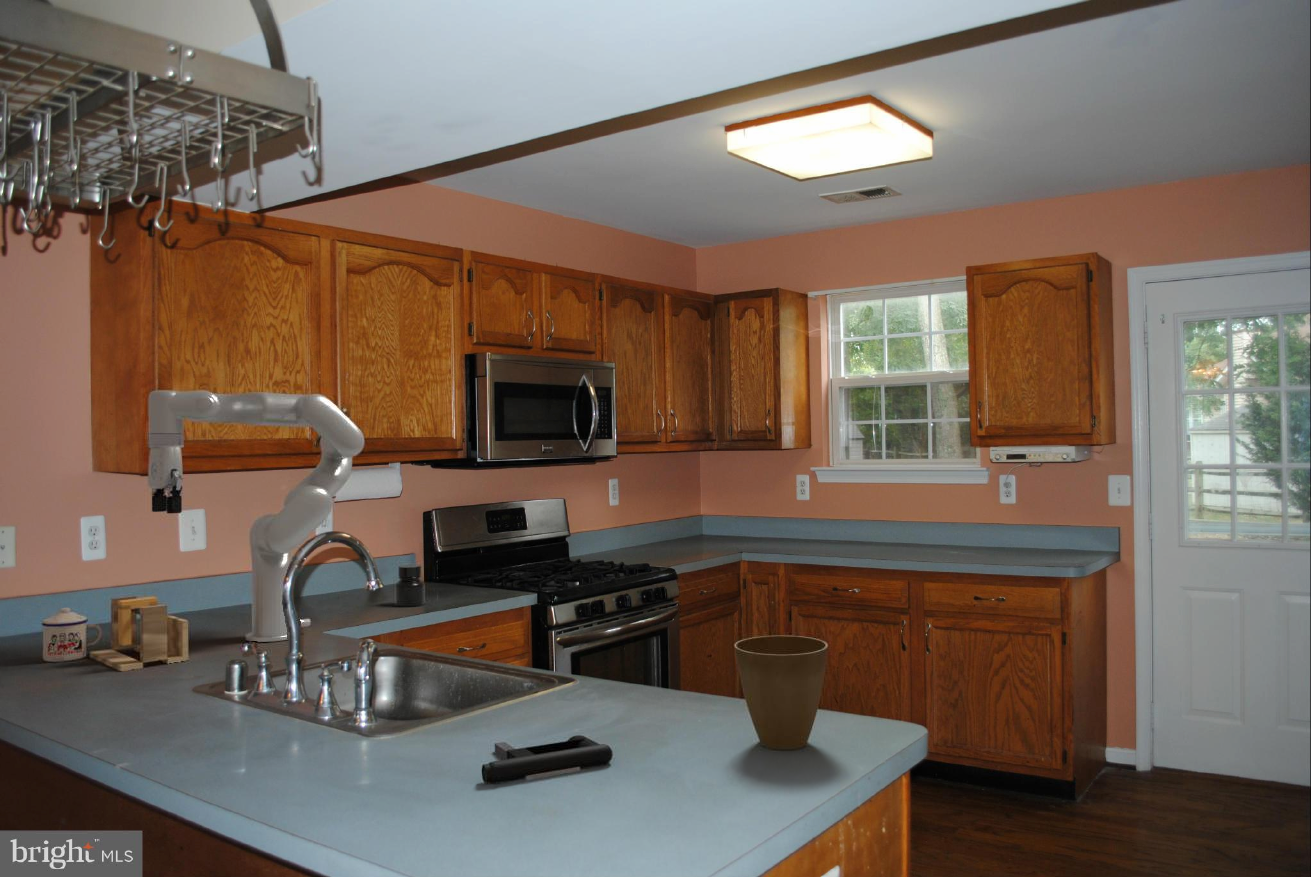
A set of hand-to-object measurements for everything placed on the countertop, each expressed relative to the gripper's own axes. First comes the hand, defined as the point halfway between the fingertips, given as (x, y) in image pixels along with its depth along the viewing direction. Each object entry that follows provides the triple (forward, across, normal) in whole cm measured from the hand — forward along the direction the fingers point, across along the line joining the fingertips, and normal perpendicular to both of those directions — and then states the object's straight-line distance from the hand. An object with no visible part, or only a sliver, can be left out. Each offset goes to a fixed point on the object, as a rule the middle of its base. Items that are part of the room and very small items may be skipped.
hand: (166, 512), depth 231 cm
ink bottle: (+34, -15, +76) cm, 84 cm away
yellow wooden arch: (+29, +5, -8) cm, 31 cm away
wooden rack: (+33, +5, -8) cm, 35 cm away
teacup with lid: (+34, -9, -18) cm, 39 cm away
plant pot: (+34, +153, +40) cm, 162 cm away
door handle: (+34, +131, +8) cm, 135 cm away
